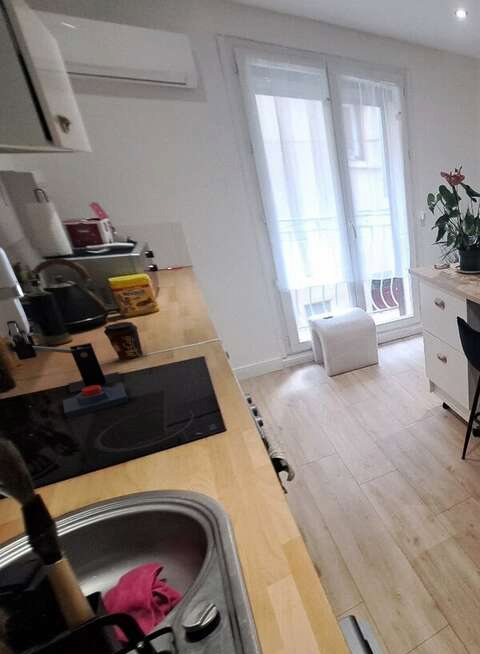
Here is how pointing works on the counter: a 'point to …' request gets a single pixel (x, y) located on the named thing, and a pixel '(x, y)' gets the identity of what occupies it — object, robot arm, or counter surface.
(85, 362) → the lever bracket
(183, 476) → the counter surface
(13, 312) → the robot arm
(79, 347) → the lever
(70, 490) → the counter surface
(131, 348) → the coffee cup
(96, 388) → the igniter button
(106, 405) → the igniter
